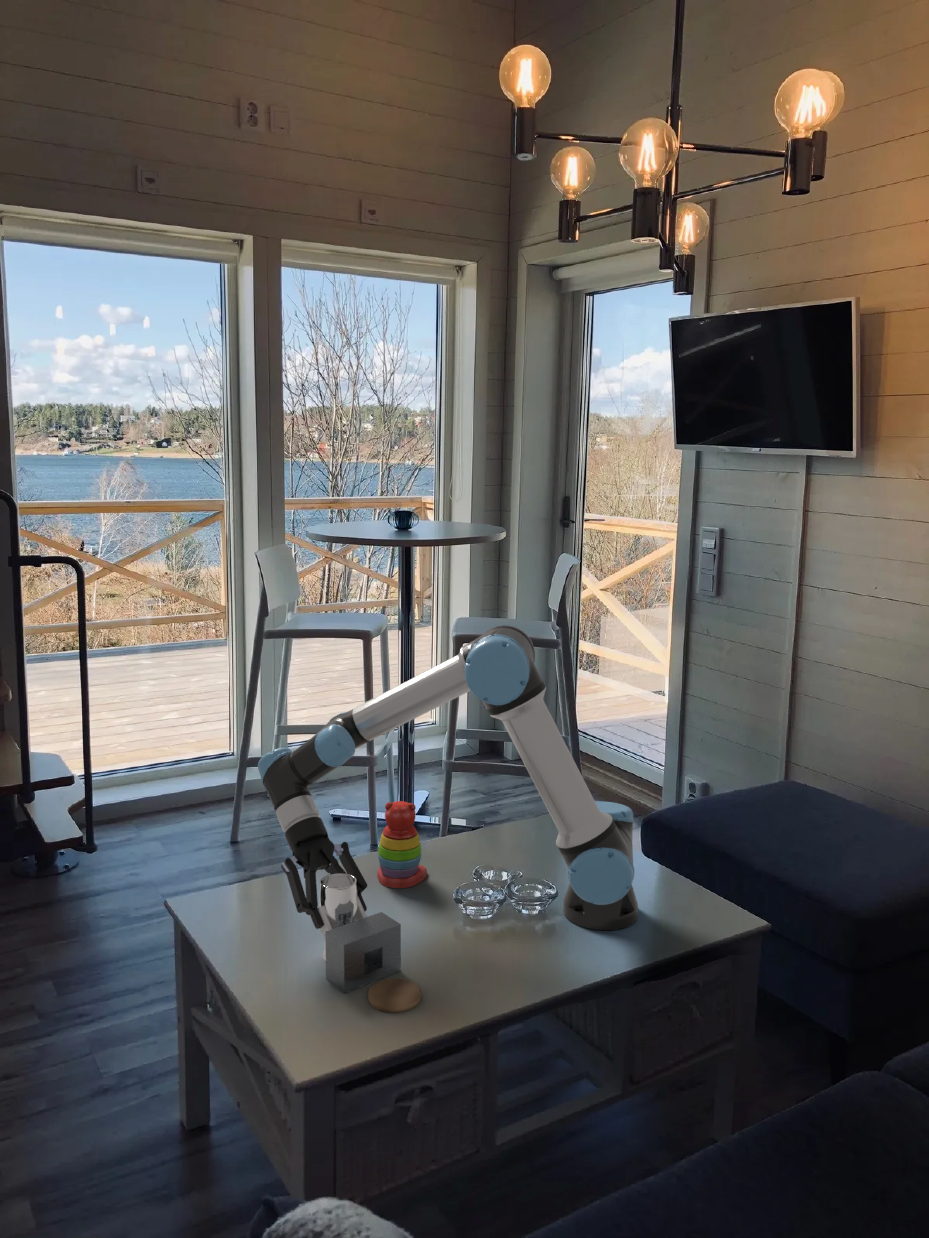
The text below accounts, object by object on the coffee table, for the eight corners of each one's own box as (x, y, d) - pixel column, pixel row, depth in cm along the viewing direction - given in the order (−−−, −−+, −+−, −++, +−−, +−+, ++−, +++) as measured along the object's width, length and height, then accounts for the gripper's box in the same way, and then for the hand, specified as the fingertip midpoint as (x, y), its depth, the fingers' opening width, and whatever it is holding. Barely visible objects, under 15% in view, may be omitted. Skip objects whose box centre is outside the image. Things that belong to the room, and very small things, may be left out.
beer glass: (316, 950, 182) (315, 875, 179) (352, 944, 184) (352, 870, 182) (324, 969, 175) (323, 891, 173) (362, 962, 178) (361, 885, 175)
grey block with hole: (326, 978, 172) (325, 931, 171) (381, 957, 180) (381, 911, 178) (344, 993, 168) (343, 944, 166) (400, 970, 175) (400, 924, 174)
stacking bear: (428, 871, 217) (429, 795, 214) (419, 891, 207) (420, 811, 204) (381, 867, 218) (381, 792, 215) (370, 887, 208) (370, 808, 205)
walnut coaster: (424, 984, 171) (424, 979, 170) (416, 1014, 162) (416, 1008, 162) (373, 981, 171) (373, 976, 171) (363, 1010, 163) (363, 1005, 162)
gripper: (338, 821, 194) (385, 928, 185) (249, 846, 182) (294, 961, 172) (353, 804, 189) (402, 912, 180) (262, 827, 177) (309, 945, 168)
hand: (349, 936), depth 176 cm, fingers closed on beer glass, 7 cm apart
